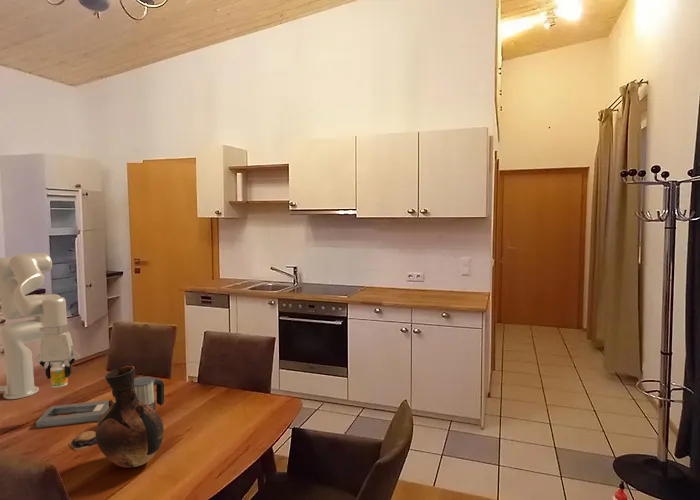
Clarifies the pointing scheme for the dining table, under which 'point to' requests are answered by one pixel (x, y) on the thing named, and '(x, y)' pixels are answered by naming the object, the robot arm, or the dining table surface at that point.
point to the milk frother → (149, 390)
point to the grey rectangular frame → (95, 415)
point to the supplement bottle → (58, 374)
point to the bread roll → (84, 440)
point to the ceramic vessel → (128, 423)
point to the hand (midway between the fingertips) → (58, 376)
